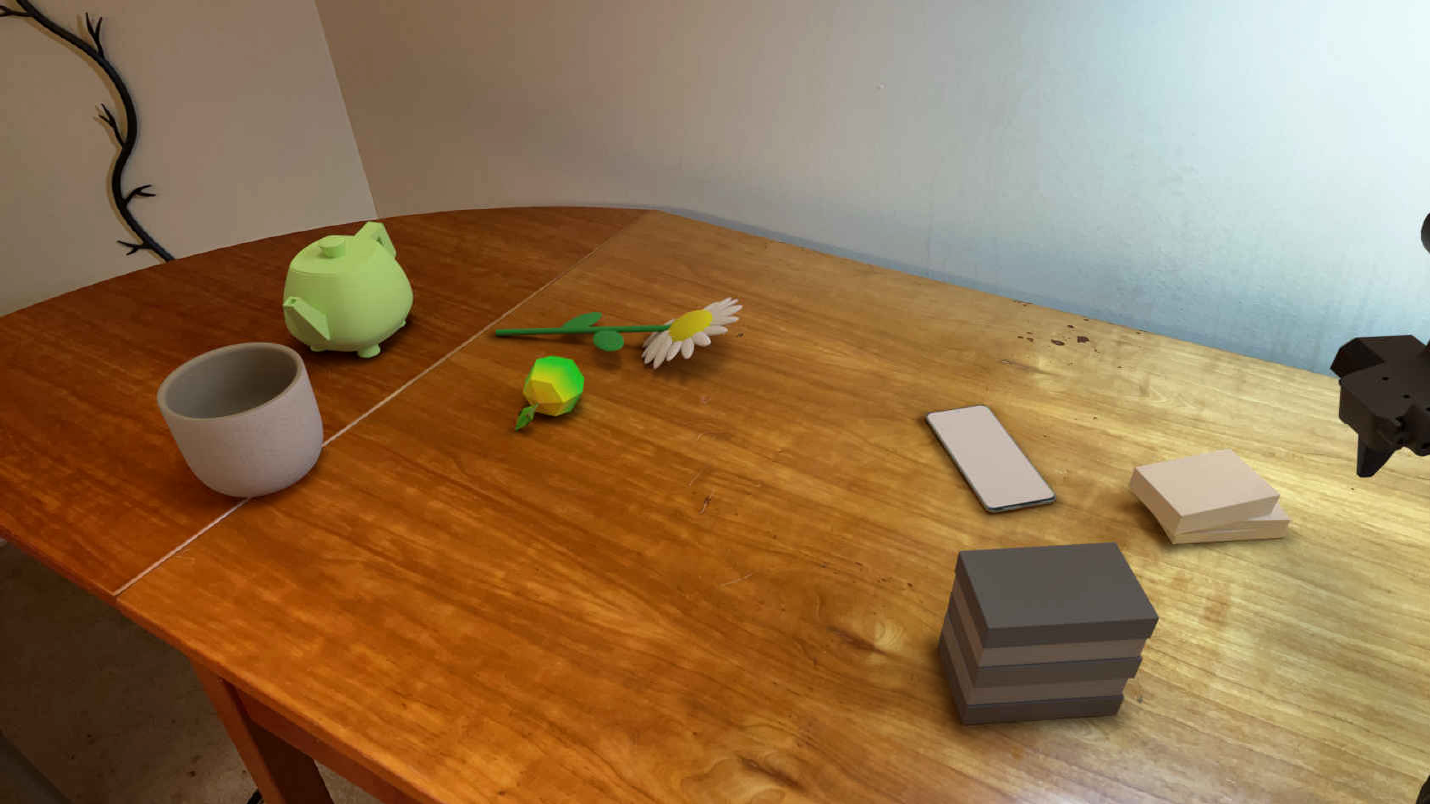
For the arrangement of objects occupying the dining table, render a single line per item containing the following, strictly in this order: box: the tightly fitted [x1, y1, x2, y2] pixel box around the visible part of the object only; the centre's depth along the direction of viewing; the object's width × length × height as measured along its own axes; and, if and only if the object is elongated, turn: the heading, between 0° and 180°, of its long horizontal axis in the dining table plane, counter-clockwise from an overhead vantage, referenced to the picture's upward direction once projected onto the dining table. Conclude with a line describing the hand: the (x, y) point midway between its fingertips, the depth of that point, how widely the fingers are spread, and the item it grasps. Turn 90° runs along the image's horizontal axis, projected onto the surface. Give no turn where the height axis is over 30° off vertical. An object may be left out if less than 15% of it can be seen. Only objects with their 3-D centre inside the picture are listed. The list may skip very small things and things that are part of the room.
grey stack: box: [937, 541, 1160, 726], centre depth 66 cm, size 7×12×11 cm, turn 94°
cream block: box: [1127, 447, 1281, 535], centre depth 81 cm, size 6×10×2 cm, turn 105°
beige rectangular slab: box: [1153, 468, 1292, 545], centre depth 83 cm, size 7×10×2 cm
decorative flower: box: [495, 297, 743, 370], centre depth 105 cm, size 13×5×30 cm
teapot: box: [282, 221, 414, 359], centre depth 105 cm, size 20×13×13 cm
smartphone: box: [925, 404, 1057, 513], centre depth 90 cm, size 7×1×15 cm
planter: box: [156, 341, 324, 498], centre depth 86 cm, size 12×12×11 cm
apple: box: [514, 355, 585, 431], centre depth 95 cm, size 7×6×9 cm
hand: (1405, 517), depth 66 cm, fingers open, 9 cm apart
